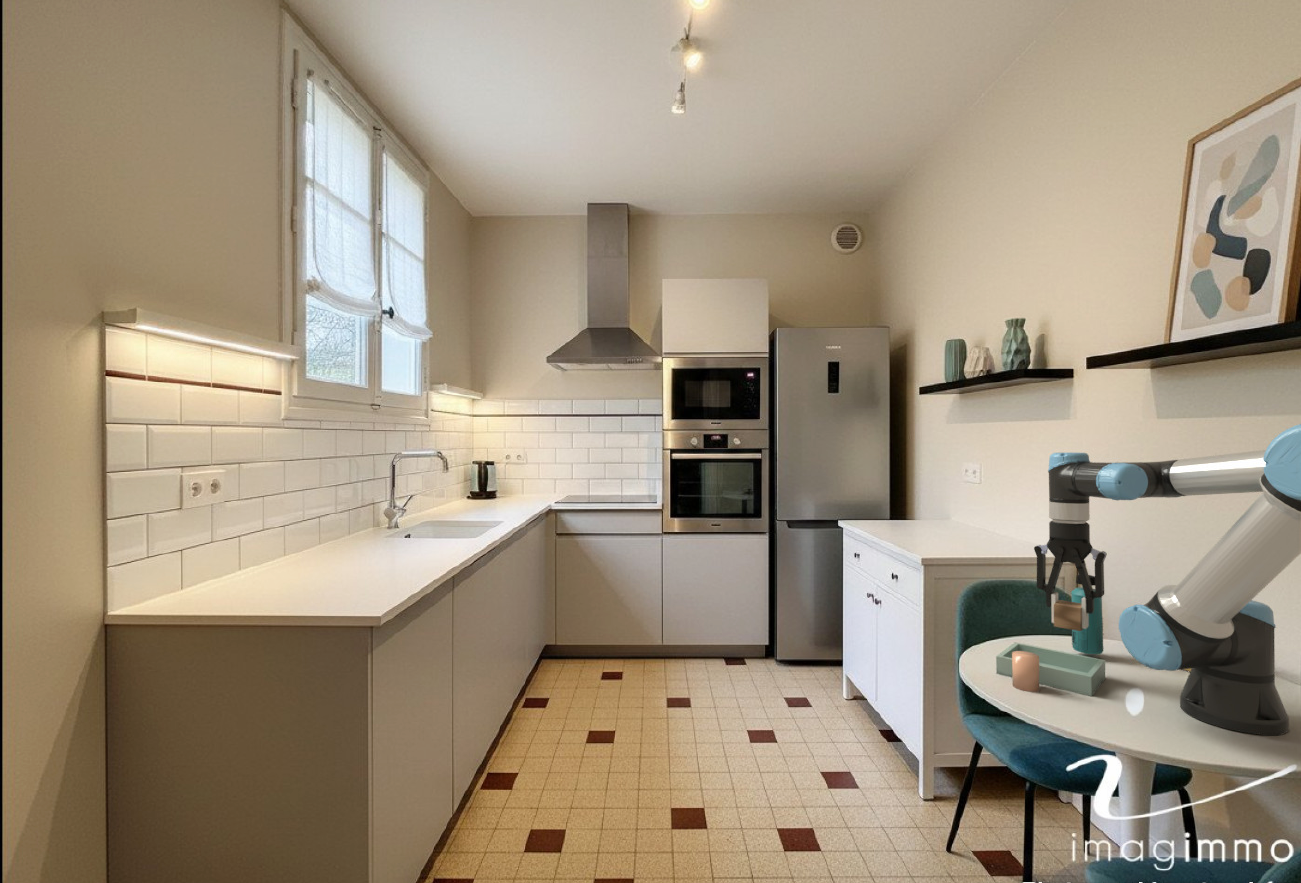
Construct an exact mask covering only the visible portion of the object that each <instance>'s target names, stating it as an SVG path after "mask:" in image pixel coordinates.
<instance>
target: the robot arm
mask: <svg viewBox="0 0 1301 883" xmlns="http://www.w3.org/2000/svg"><path fill="white" fill-rule="evenodd" d="M1047 473H1048V495H1049V497H1048V499H1049V500H1048V506H1049V507H1048V508H1049V509H1048V512H1049V513H1048V517H1049V519H1051V520H1050V521H1049V522H1048V527H1049V528H1048V529H1049V531H1048V532H1049V535H1048V536H1049V539H1048V541H1047V543H1046V544H1038V545H1036V546H1034V547H1033V550H1034V553H1035V555H1036V588H1037V590H1038V589H1039V590H1042V591H1044V593H1045V594H1046V596H1045V598H1046V599H1045V600H1046V603H1045V604H1046V607H1047V608H1048V607H1049V608H1050V609H1051V624H1054V604H1055V603H1056V602H1058V601H1059V592H1056V591H1055V590H1056V587H1057V583H1058V580H1059V576H1060V573H1061V570H1062V566H1063V565H1064V563H1071V564H1073V565H1074V566H1075V569H1077V575H1079V577H1080V580H1081V583H1082V585H1081V587H1083V590H1084V593H1085V596H1086V597H1083V598H1082V599H1081V600H1082V628H1084V629H1086V628H1087V627H1088V626H1089V616H1088V613H1090V614H1092V613H1093V612H1094V598H1101V597H1102V598H1103V597H1104V595H1105V566H1104V565H1105V564H1104V563H1105V560H1106V558H1107V555H1108V554H1107V552H1106V551H1104V550H1102V551H1100V550H1098V549H1095V548H1093V546H1092V545H1091V537H1090V536H1091V534H1090V532H1091V530H1090V529H1091V528H1090V527H1091V526H1090V523H1088V522H1089V521H1090V520H1091V518H1090V498H1091V497H1092V498H1100V499H1108V500H1112V501H1134V500H1138V499H1142V498H1143V499H1144V498H1166V499H1167V498H1180V497H1190V496H1206V495H1223V494H1224V495H1227V494H1244V493H1245V494H1246V493H1247V494H1249V493H1261V494H1260V495H1259V497H1257V499H1256V500H1255V501H1254V502H1253V503H1252V504H1251V505H1250V506H1249V508H1248V509H1247V510H1246V511H1245V512H1244V513H1243V514H1242V515H1241V516H1240V517H1239V518H1238V519H1237V520H1236V521H1235V522H1234V524H1232V526H1231V527H1230V528H1229V529H1228V530H1227V531H1226V532H1225V533H1224V534H1223V535H1222V536H1221V538H1219V540H1218V541H1217V542H1216V543H1215V544H1214V545H1213V546H1212V547H1211V548H1210V549H1209V551H1208V552H1206V553H1205V555H1204V556H1203V557H1202V558H1201V559H1200V561H1198V563H1197V564H1196V565H1195V566H1194V567H1193V568H1192V569H1191V570H1190V571H1189V572H1188V574H1186V575H1185V577H1184V578H1183V579H1182V580H1181V581H1180V582H1179V583H1178V584H1168V585H1164V586H1163V587H1161V588H1160V589H1159V590H1158V591H1157V592H1156V593H1155V594H1154V595H1153V597H1151V599H1149V601H1148V602H1147V603H1145V604H1134V605H1132V606H1127V607H1126V608H1125V609H1124V610H1123V611H1122V612H1121V614H1120V616H1119V620H1118V630H1119V633H1120V639H1121V641H1122V643H1123V645H1124V647H1125V649H1126V650H1127V651H1128V653H1129V654H1130V655H1131V657H1133V658H1134V659H1135V661H1137V662H1138V663H1140V664H1141V665H1143V666H1145V667H1147V668H1150V669H1152V670H1155V671H1157V670H1158V671H1169V672H1171V671H1177V670H1181V669H1189V668H1191V672H1189V674H1188V676H1187V678H1186V682H1185V683H1184V685H1183V688H1182V690H1181V692H1180V696H1179V704H1180V705H1179V706H1180V708H1181V710H1182V711H1183V712H1184V713H1186V714H1187V715H1189V716H1190V717H1192V718H1195V719H1197V720H1199V721H1201V722H1204V723H1206V724H1209V725H1213V726H1215V727H1220V728H1222V729H1223V728H1224V729H1226V730H1230V731H1235V732H1240V733H1246V734H1253V735H1260V736H1261V735H1262V736H1279V735H1280V736H1281V735H1283V734H1286V733H1288V732H1289V730H1290V726H1289V725H1290V724H1289V722H1290V721H1289V719H1290V718H1289V715H1288V713H1287V710H1286V708H1285V705H1284V703H1283V701H1282V699H1281V697H1280V694H1279V692H1278V690H1277V687H1276V683H1275V678H1276V677H1275V675H1276V674H1275V672H1276V671H1275V670H1276V668H1275V667H1276V665H1275V662H1276V661H1275V659H1276V658H1275V629H1276V628H1277V627H1276V624H1275V619H1274V611H1273V609H1272V608H1271V607H1270V606H1269V605H1268V604H1265V603H1262V602H1260V601H1257V600H1254V598H1255V597H1256V596H1257V595H1258V594H1259V593H1261V591H1263V590H1264V589H1265V588H1266V587H1267V586H1268V585H1269V584H1270V583H1272V582H1273V581H1274V579H1275V578H1276V577H1278V576H1279V574H1281V573H1282V572H1283V571H1284V570H1285V569H1286V568H1287V567H1288V566H1289V565H1290V564H1291V563H1292V562H1293V561H1294V560H1296V558H1298V557H1299V555H1301V423H1299V424H1296V425H1294V426H1291V427H1289V428H1287V429H1285V430H1283V431H1282V432H1281V433H1279V434H1278V435H1277V436H1275V437H1274V438H1273V439H1272V440H1271V442H1270V443H1269V444H1268V446H1267V447H1266V449H1261V450H1252V451H1243V452H1236V453H1235V452H1234V453H1227V454H1225V453H1224V454H1218V455H1216V454H1215V455H1208V456H1201V457H1200V456H1199V457H1191V458H1183V459H1172V460H1164V461H1163V460H1161V461H1150V462H1149V461H1146V462H1145V461H1144V462H1143V461H1142V462H1141V461H1140V462H1137V461H1136V462H1132V461H1131V462H1118V461H1117V462H1096V461H1095V462H1093V461H1091V460H1090V456H1089V453H1086V452H1053V453H1051V454H1050V456H1049V459H1048V470H1047ZM1048 550H1049V551H1050V553H1051V554H1052V555H1053V557H1054V560H1053V563H1052V564H1053V565H1052V568H1051V572H1050V575H1049V577H1048V582H1047V584H1046V581H1047V580H1046V579H1047V578H1046V576H1047V575H1046V574H1047V573H1046V571H1047V569H1046V567H1047V565H1046V563H1047V556H1046V554H1048ZM1090 554H1091V555H1092V559H1093V560H1094V576H1095V585H1094V588H1093V586H1092V585H1091V582H1090V579H1089V575H1090V574H1089V572H1088V569H1087V566H1086V565H1087V564H1086V558H1087V557H1088V556H1089V555H1090ZM1093 589H1095V591H1094V592H1093Z"/></svg>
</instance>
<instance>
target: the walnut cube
mask: <svg viewBox="0 0 1301 883" xmlns="http://www.w3.org/2000/svg"><path fill="white" fill-rule="evenodd" d="M1053 627H1056V628H1062V629H1066V630H1071V631H1072V630H1077V631H1081V630H1082V629H1083V628H1082V604H1081V603H1075V602H1072V601H1069V600H1068V601H1067V600H1061V599H1058V602H1056V603H1055V604H1054V623H1053Z"/></svg>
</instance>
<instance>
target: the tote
mask: <svg viewBox="0 0 1301 883" xmlns="http://www.w3.org/2000/svg"><path fill="white" fill-rule="evenodd" d="M1014 651H1026V652H1031V653H1034V654H1037V655H1038V656H1039V683H1040V685H1042V686H1047V687H1050V688H1055V689H1059V690H1063V691H1067V692H1070V693H1075V694H1080V695H1084V696H1088V697H1092V696H1093V695H1094V694H1095V692H1097V690H1098V688H1099V687H1100V686H1101V685H1102V683H1103V682H1104V681H1105V679H1106V660H1105V659H1101V658H1095V657H1091V656H1087V655H1086V656H1085V655H1081V654H1075V653H1072V652H1066V651H1062V650H1056V649H1051V648H1046V647H1041V646H1036V645H1031V644H1028V643H1027V644H1026V643H1021V642H1013V643H1012V644H1010V645H1009V646H1008V647H1007V648H1005V649H1004V650H1003V651H1001V652H999V654H997V655H996V656H995V658H996V660H995V661H996V663H995V664H996V669H995V671H996V674H997V675H1000V676H1005V677H1008V678H1009V677H1010V678H1012V652H1014Z"/></svg>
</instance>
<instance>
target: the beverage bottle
mask: <svg viewBox="0 0 1301 883" xmlns="http://www.w3.org/2000/svg"><path fill="white" fill-rule="evenodd" d="M1088 575H1089V579H1090V582H1091V585H1092V587H1093V586H1094V587H1095V575H1092V574H1088ZM1075 584H1078V585H1081V587H1075V588H1074V589H1073V590H1071V592H1070V593H1071V602H1075V603H1081V604H1082V600H1081V599H1082V598H1083V597H1086V596H1085V593H1084V590H1083V587H1082V583H1081V580H1080V577H1079V574H1077V575H1076V580H1075ZM1094 591H1095V588H1093V592H1094ZM1088 616H1089V626H1088V627H1087V628H1086V629H1084V628H1083V629H1082V630H1081V631H1077V630H1071V634H1070V635H1071V645H1072V648H1073V650H1075V651H1076V652H1078V653H1081V654H1087V655H1102V654H1103V652H1104V633H1103V632H1104V621H1103V620H1104V618H1103V596H1102V597H1101V598H1094V612H1093V613H1092V614H1090V613H1088Z"/></svg>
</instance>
